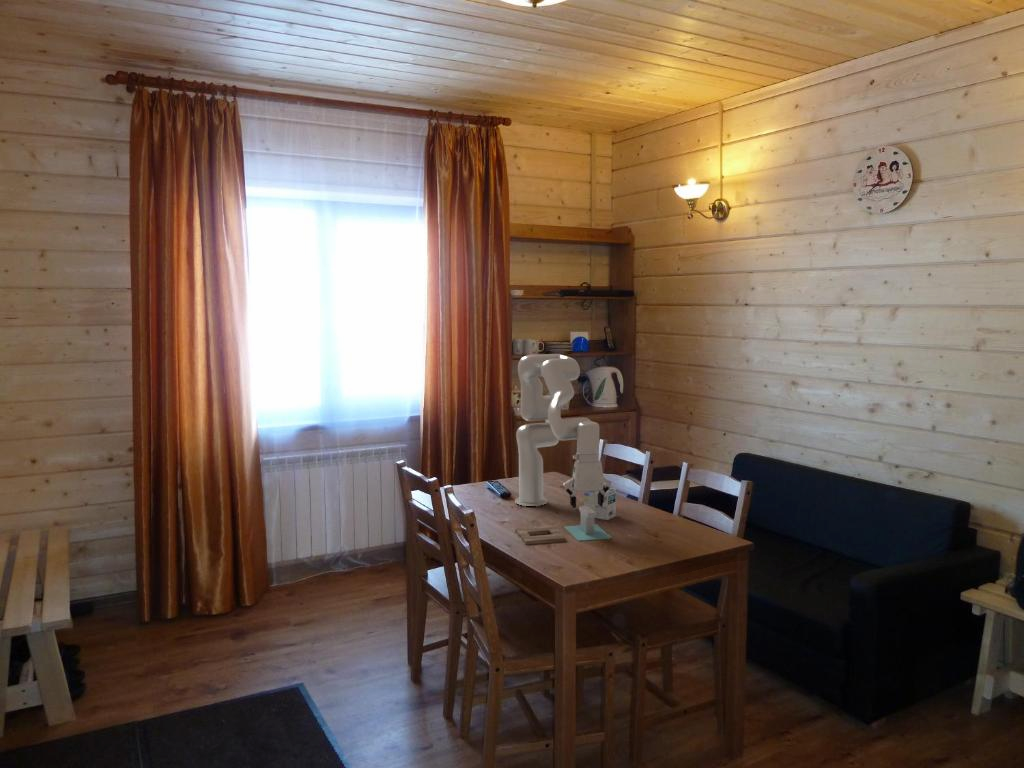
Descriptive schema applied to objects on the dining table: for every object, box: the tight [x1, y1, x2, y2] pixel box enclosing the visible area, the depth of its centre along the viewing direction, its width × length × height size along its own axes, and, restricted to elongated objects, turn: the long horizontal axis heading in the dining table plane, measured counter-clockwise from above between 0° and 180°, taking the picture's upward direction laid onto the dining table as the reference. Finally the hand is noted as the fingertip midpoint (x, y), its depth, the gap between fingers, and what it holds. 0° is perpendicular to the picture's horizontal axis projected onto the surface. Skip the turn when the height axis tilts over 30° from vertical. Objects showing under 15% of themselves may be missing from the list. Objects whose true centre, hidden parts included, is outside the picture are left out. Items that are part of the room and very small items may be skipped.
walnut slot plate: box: [514, 525, 567, 545], centre depth 260 cm, size 14×14×1 cm
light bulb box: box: [582, 487, 617, 521], centre depth 283 cm, size 11×7×11 cm, turn 56°
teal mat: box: [563, 523, 613, 542], centre depth 264 cm, size 16×12×1 cm
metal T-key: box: [578, 505, 596, 535], centre depth 263 cm, size 3×9×8 cm, turn 14°
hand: (586, 506), depth 263 cm, fingers open, 9 cm apart
